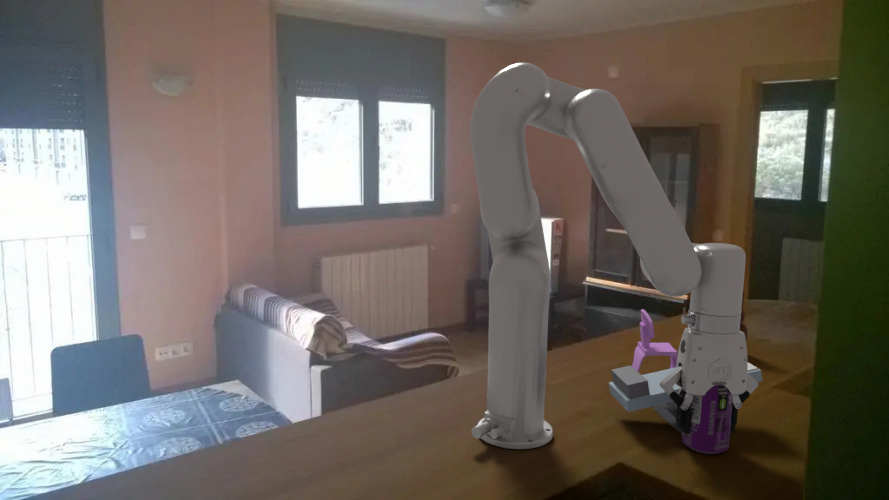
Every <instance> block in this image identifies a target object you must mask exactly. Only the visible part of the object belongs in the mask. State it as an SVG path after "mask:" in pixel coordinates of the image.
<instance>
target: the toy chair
mask: <svg viewBox="0 0 889 500" xmlns="http://www.w3.org/2000/svg"><path fill="white" fill-rule="evenodd" d="M640 318H641V321H640V322H639V328H640V332H639V333H640V341H637V346H636V347H635V350H634V354H633V361H632V364H631V366H632V367H633V368H634V369H635V370H636V371H637V372H639V373H640V369H641V366H642V363H643V362H644V360H645V358H646V357H649V356H650V357H651V356H666V357H670V366H669V369H671V368H675V367H676V364H677V357H678V351H677V350H676V349H675V348H674V346H672V345H671V343H670V342H651V340H652V339H653V338H655V337H656V335H655V330H654V323H653V320H652V318H651V317H650V314H648V312H647V311H646V310H645V309H644V308H643V309H640Z"/></svg>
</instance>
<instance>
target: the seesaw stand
mask: <svg viewBox="0 0 889 500" xmlns="http://www.w3.org/2000/svg"><path fill="white" fill-rule="evenodd" d="M651 408H652V409H653V410H655V412H657V414H659V416H661V417H662V418H663V419H664V420H665V422H667V423H669V425H670V426H671V427H672V428H673V429H675V430H676V431H677V433H679V434H680V436H682V433H683V432H682V431H681V430H680V429H679V428H678V426H677V425H676V411H677V404H676V403H675V402H669V403H665V404H661V405H656V406H652V407H651Z"/></svg>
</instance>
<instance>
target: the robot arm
mask: <svg viewBox="0 0 889 500" xmlns="http://www.w3.org/2000/svg"><path fill="white" fill-rule="evenodd" d="M470 117H471V118H470V127H469V128H470V129H469V132H470V133H469V134H470V135H469V136H470V143H471V153H472V158H473V166H474V175H475V179H476V185H477V191H478V198H479V199H478V200H479V210H480V217H481V221H482V223H483V225H484V226H485V229H486V231H487V235H488V241H489V246H490V251H491V256H492V257H491V258H492V264H491V268H490V273H489V279H488V351H487V352H488V354H487V355H488V356H487V357H488V358H487V384H486V385H487V389H486V391H487V392H486V394H487V395H486V411H485V412H484V417H483V418H481V419H480V420H479V421H478V423H477V425H475V426H472V428H471V431H470V432H471V433H470V434H471V435H472V437H473V438H474V439H477V440H478V439H481V440H482V441H484V442H486V443H487V444H490V445H492V446H495V447H499V448H503V449H509V450H511V449H512V450H530V449H534V448H535V449H536V448H539V447H542V446H544V445H547V444H548V443H550V441H551V440H552V439H553V432H554V429H553V426H551V424H550V423H549V422H547V421H546V420H545V405H546V404H545V403H546V402H545V399H546V378H547V377H546V375H547V356H548V355H547V352H548V348H547V347H548V346H547V345H548V326H549V323H548V322H549V310H550V309H549V308H550V295H551V269H550V264H549V263H550V262H549V257H548V252H547V247H546V241H545V240H546V239H545V235H544V227H543V222H542V216H541V210H540V202H539V199H538V195H537V193H536V191H535V189H534V187H533V183H532V178H531V173H530V172H531V171H530V166H529V159H528V158H529V157H528V152H527V146H526V145H527V143H526V138H525V137H526V136H525V135H526V134H525V133H526V127H527V125H529V126H532V127H534V128H537V129H541V130H543V131H546V132H548V133H551V134H554V135H556V136H559V137H563V138H566V139H569V140H573V141H574V143H575V144H576V147H577V149H578V150H579V153H580V155H581V156H582V159H583V160H584V163H585V164H586V167H587V169H588V170H589V172H590V174H591V177H592V179H593V180H594V183H595V185H596V187H597V188H598V191H599V192H600V194H601V196H602V198H603V199H604V201H605V203H606V205H607V206H608V208H609V209H610V211H611V212H612V214H614V216H615V217H616V218H617V220H618V221H619V223H620V224H621V226H622V227H623V229H624V230H625V232H626V234H627V236H628V238H629V239H630V240H631V241H630V242H632V245H633V247H634V249H635V251H636V252H637V255H638V257H639V264H640V268H641V271H642V273H643V275H644V276H645V278H646V279H647V280H648V281H649V283H651V285H652V286H653V287H654V288H655V289H656V291H658V292H659V293H661V294H662V295H664V296H668V297H678V298H679V297H683V296H686V295H689V294H690V301H689V309H688V313H687V314H685V315H684V314H682V315H681V317H680V322H681V323H682V324H684V325H686V326H688V327H685V328H684V330H683V332H682V336H681V338H680V339H681V340H680V343H679V348H678V351H677V356H678V357H677V364H676V369H675V370H674V371H673V372H672V373H670V374H669V375H668V376H667V377H666V378H665V379H663V380H662V381H661V382H660V386H661V387H662V389H663V390H664V391H665V392H666V393H667V395H668V396H669V397H670V398H671V399H672V400H673V401H674V402H675V403H676V404H677V411H676V425H677V426H678V428H679V429H680V430H681V431H682V432H683V433H685V434H689V433H690V426H691V413H692V412H691V410H690V409H689V406H690V404H691V402H692V400H693V396H704V395H705V393H706V392H707V391H708V390H709V389H710V388H711V387H713V386H715V385H712V383H715V382H717V383H719V382H727V384H726V385H724V386H725V387H727V388H728V389H729V391H730V392H731V395H732V396H733V403H732V415H731V427H730V434H731V433H735V431H736V430H735V429H736V426H737V424H738V423H737V422H738V421H737V420H738V412H739V409H741V408H742V406H743V403H744V402H746V400H747V399H749V397H750V396H751V394H752V393H753V392H754V391H755V390H756V389H757V388H758V387H759V382H757V381H756V380H755V379H754V378H753V377H752V376H750V375H749V374H748V373H747V371H748V364H747V362H748V350H747V349H748V347H747V341H746V339H745V333H744V332H742V331H740V319H741V308H742V297H743V291H744V281H745V273H746V272H745V270H746V262H747V261H746V259H747V257H746V252H745V250H744V249H743V248H742V247H741V246H738V245H736V244H730V243H722V242H707V243H696V242H695V243H694V242H692V241H691V240H690V237H689V235H688V233H687V231H686V229H685V228H684V226H683V224H682V222H681V219H680V218H679V216H678V214H677V213H676V211H675V209H674V207H673V205H672V204H671V202H670V200H669V198H668V197H667V195H666V192H665V191H664V188H663V186H662V184H661V182H660V180H659V179H658V177H657V176H656V173H655V172H654V170H653V167H652V166H651V165H652V164H650V162H649V160H648V157H647V156H646V154H645V152H644V150H643V148H642V146H641V144H640V142H639V140H638V138H637V136H636V133H635V131H634V130H633V128H632V125H631V124H630V122H629V119H628V117H627V116H626V113H625V111H624V109H623V108H622V106H621V104H620V103H619V101H618V99H617V98H616V96H615V95H613V93H611V92H610V91H608V90H605V89H603V88H602V89H601V88H589V89H585V88H581V87H577V86H575V85H573V84H569V83H566V82H563V81H560V80H558V79H555V78H553V77H550V76H547V74H546V72H544V70H543V69H541V68H540V67H539V66H537V65H535V64H533V63H529V62H517V63H514V64H513V63H512V64H510V65H507V67H505V68H503V69H501V70H500V71H499V72H497V74H495V75H494V76H493V77H492V78H490V79H489V81H488V82H487V83H486V84H485V86H484V87H483V88H481V91H480V92H479V94H478V96H477V98H476V100H475V102H474V105H473V108H472V113H471V116H470ZM674 384H677V385H678V386H680V387H681V388H680V390H679V391H678V393H676V391H675V390H674V389H673V385H674Z"/></svg>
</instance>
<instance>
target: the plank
mask: <svg viewBox="0 0 889 500" xmlns="http://www.w3.org/2000/svg"><path fill="white" fill-rule="evenodd" d="M747 364H748V371H747V373H748V374H749V375H750V376H752V377H753V378H754V379H755V380H756V381H757V382H758V383H760V382H763V376H762V369H760V368H758V367H757V366H755V365H753V364H752V363H750V362H748V361H747ZM675 369H676V367H675V368H671V369H670V368H667V369H662V370H658V371H655V372H650V373H649V372H648V373H646V374H645V373H644V374H641V373H640V371H639V372H637V371H636V370H635V369H634V368H633V367H632V364H631V365H626V366H623V367H617V368H614V369H611V370H610V371H611V377H612V381H610V382H608V387H609V393H610V395H612V397H614V399H616V401H617V402H618V403H619V404H620V405H621V406H622V407H623V408H624V409H625V410H626V411H627V413H630V412H635V411H638V410H642V409H647V408H653V407H652V406H656V405H661V404H665V403H669V402H674V401H673V400H672V399H671V398H670V397H669V396H668V395H667V393H666V392H665V391H664V390H663V389H662V387H661V386H660V382H661V381H662V380H663V379H665V378H666V377H667V376H668V375H669V374H670V373H672V372H673V371H674V370H675ZM680 388H681V387H680V386H678V385H677V384H674V385H673V389H674V390H675V391H676V393H678V391H679V390H680Z"/></svg>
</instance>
